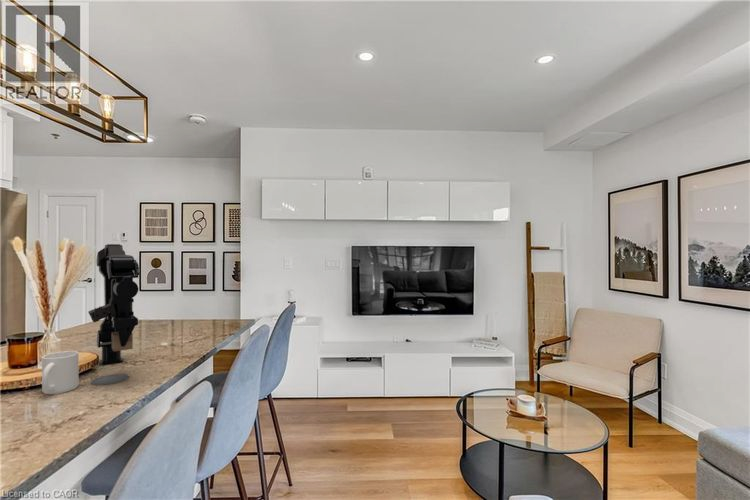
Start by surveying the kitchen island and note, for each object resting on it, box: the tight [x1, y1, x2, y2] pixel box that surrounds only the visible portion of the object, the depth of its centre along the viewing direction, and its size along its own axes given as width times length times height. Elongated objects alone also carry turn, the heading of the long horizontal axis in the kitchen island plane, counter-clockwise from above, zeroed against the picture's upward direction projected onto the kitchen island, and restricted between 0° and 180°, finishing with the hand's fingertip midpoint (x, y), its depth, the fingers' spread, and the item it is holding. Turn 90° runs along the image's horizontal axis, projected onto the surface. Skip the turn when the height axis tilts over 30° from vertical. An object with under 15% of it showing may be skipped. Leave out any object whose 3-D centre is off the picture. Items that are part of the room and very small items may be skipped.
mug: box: [41, 350, 80, 395], centre depth 111 cm, size 12×8×10 cm
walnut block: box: [112, 332, 134, 352], centre depth 122 cm, size 5×5×5 cm
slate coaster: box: [90, 373, 130, 386], centre depth 121 cm, size 10×10×1 cm
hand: (121, 344), depth 122 cm, fingers closed on walnut block, 5 cm apart
